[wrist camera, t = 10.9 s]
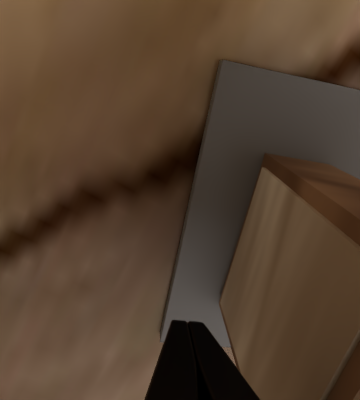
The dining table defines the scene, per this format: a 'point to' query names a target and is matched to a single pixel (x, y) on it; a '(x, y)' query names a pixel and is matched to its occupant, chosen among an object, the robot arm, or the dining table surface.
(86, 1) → the dining table surface
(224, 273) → the rubber mat
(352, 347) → the walnut slab
